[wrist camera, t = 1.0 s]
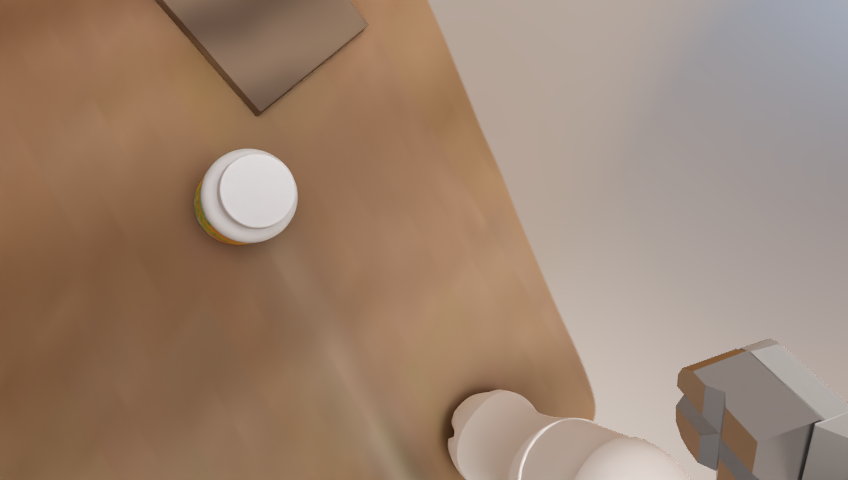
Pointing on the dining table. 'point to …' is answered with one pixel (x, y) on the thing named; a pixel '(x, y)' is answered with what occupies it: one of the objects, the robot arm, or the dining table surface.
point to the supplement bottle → (246, 197)
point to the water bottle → (546, 445)
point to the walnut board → (266, 40)
